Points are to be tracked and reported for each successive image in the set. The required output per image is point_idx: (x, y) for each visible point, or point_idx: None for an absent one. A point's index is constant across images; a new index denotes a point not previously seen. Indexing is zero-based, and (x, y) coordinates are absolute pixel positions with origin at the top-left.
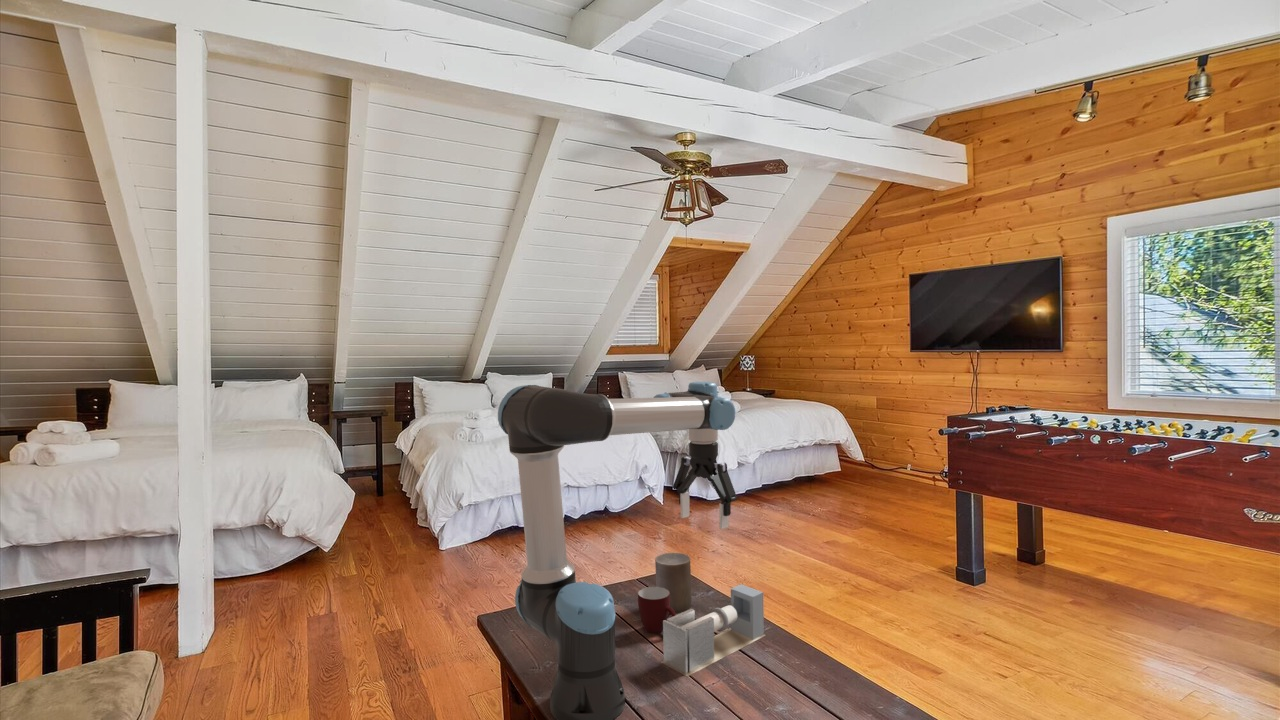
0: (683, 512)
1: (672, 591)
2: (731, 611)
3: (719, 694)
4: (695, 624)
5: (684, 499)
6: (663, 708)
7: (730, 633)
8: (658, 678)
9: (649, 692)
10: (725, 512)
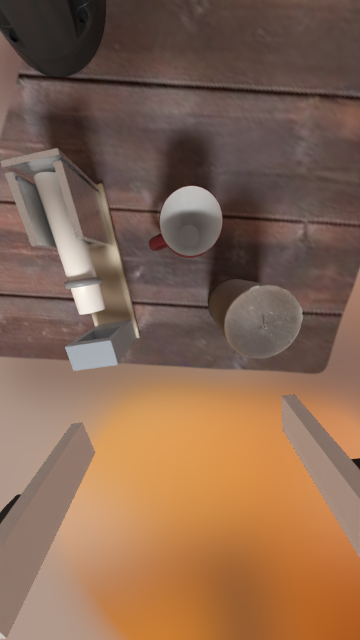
0: (297, 421)
1: (221, 292)
2: (76, 305)
3: (13, 211)
4: (19, 198)
5: (355, 511)
6: (7, 120)
7: (124, 313)
8: (75, 161)
9: (48, 126)
10: (3, 519)
